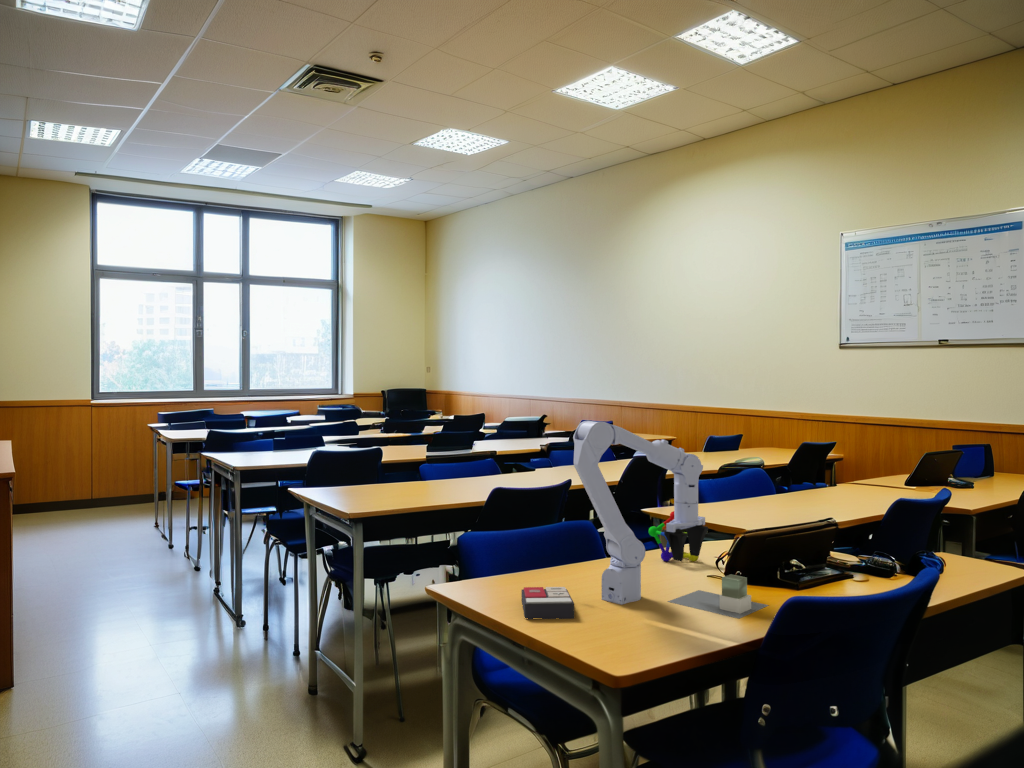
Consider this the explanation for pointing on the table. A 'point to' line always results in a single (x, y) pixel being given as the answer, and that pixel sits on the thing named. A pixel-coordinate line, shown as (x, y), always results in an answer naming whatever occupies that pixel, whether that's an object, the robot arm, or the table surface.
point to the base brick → (735, 603)
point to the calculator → (547, 603)
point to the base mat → (712, 603)
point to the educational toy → (665, 553)
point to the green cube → (734, 586)
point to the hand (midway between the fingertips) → (686, 557)
